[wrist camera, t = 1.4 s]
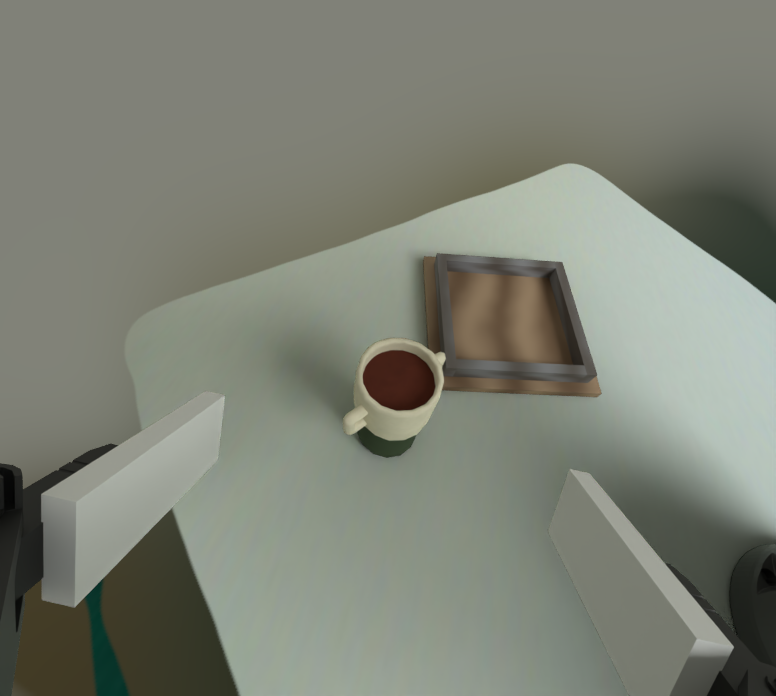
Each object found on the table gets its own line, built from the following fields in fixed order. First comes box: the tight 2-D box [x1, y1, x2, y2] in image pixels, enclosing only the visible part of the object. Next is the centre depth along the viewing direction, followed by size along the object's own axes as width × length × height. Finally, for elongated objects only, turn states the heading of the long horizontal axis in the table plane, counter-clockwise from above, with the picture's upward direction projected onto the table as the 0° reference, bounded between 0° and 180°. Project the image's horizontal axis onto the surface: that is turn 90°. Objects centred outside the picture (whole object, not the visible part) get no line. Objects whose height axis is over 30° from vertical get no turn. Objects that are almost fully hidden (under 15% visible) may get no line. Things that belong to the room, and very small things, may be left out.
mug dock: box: [423, 253, 601, 397], centre depth 49 cm, size 20×20×3 cm
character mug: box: [343, 338, 446, 457], centre depth 36 cm, size 11×7×13 cm, turn 128°
